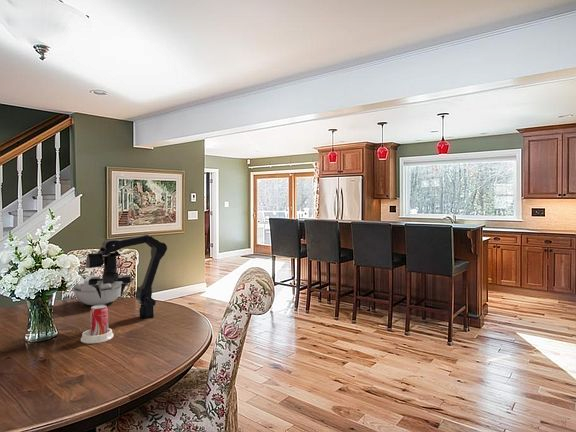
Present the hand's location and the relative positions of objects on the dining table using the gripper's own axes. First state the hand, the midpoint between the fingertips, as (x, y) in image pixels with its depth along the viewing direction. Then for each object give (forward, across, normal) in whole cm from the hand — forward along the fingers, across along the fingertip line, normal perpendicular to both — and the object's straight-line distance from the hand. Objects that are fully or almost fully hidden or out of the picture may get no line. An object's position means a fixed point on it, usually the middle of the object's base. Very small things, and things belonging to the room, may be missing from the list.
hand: (111, 297), depth 196 cm
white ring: (+13, -3, -20) cm, 24 cm away
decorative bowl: (+13, -14, +43) cm, 47 cm away
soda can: (+12, -2, -19) cm, 23 cm away
